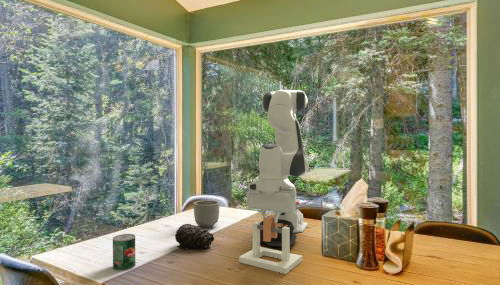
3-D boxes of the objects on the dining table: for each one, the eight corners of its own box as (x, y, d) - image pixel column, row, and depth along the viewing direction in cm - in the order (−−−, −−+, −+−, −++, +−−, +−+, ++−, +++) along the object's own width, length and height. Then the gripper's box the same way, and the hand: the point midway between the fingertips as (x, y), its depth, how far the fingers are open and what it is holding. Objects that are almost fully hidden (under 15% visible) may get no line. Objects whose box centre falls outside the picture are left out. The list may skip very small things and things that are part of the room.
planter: (224, 225, 170) (224, 201, 170) (208, 232, 159) (208, 206, 158) (205, 221, 178) (205, 199, 177) (188, 227, 166) (187, 203, 166)
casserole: (252, 233, 156) (252, 216, 156) (289, 232, 158) (288, 215, 158) (260, 251, 131) (260, 231, 131) (303, 249, 134) (303, 229, 133)
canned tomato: (134, 269, 114) (134, 239, 114) (111, 272, 112) (111, 241, 112) (136, 261, 122) (136, 233, 121) (114, 263, 119) (114, 234, 119)
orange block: (271, 236, 124) (271, 214, 124) (277, 237, 122) (277, 215, 122) (263, 240, 118) (263, 218, 118) (269, 241, 117) (269, 219, 117)
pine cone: (212, 251, 131) (212, 228, 131) (171, 250, 134) (171, 226, 134) (218, 243, 142) (218, 221, 141) (180, 241, 144) (180, 220, 144)
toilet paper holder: (239, 262, 120) (238, 225, 120) (258, 250, 132) (257, 217, 132) (286, 274, 109) (285, 234, 109) (302, 260, 121) (302, 224, 121)
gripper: (298, 187, 117) (298, 223, 117) (252, 182, 128) (252, 216, 128) (291, 189, 112) (291, 227, 112) (244, 184, 123) (244, 219, 123)
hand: (270, 221), depth 120 cm, fingers closed on orange block, 2 cm apart
